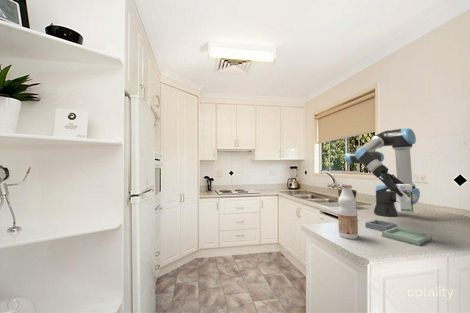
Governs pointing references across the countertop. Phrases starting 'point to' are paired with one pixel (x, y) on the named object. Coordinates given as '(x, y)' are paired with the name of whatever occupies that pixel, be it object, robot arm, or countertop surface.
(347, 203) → the fruit juice
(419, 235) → the tray
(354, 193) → the plant pot
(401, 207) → the syrup box
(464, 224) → the countertop surface
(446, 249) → the countertop surface
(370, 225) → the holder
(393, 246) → the countertop surface
